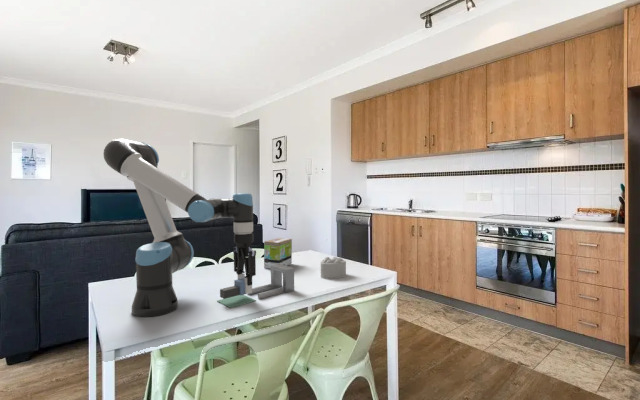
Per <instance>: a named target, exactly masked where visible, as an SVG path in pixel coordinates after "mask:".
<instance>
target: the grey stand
mask: <svg viewBox="0 0 640 400" xmlns="http://www.w3.org/2000/svg"><path fill="white" fill-rule="evenodd" d="M293 291H295V268H294V267H292V266H291V267H290V266H288V265H287V266H284V265H280V264H278V265H273V266H271V269H270V283H269V284H264V285H261V286H256V287H252V293H249V294H247V295H248V296H250V295H253V294H257V299H258V300H261V299H264V298H265V299H266V298H269V297H273V296H275V295H276V296H277V295H281V294H283V293H289V292H290V293H291V292H293Z"/></svg>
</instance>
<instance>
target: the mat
mask: <svg viewBox="0 0 640 400" xmlns="http://www.w3.org/2000/svg"><path fill="white" fill-rule="evenodd" d="M254 302H257V300H256V299H254V298H252V297H250V296H247V295H246V294H244V295H237V296H234V297H230V298H226V299H223V298H221V299H218V300H217V303H220V304H222V305H224V306H226V307H228V308H230V309H232V308H236V307H238V306H239V307H240V306H243V305H246V304H250V303H254Z"/></svg>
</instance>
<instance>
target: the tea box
mask: <svg viewBox="0 0 640 400" xmlns="http://www.w3.org/2000/svg"><path fill="white" fill-rule="evenodd" d="M292 241H293V239H292V238H285V237H275V238H272V239H268V240H264V241H263V242H264V244H263V247H264V248H263V268H264V269H268V270H269V269H270V270H271V266H273V265H278V264H280V265H284V266H287V267H288V266H290V265H292V263H293V260H292V259H293V256H292V255H293V254H292V253H293V249H292V247H293V242H292Z"/></svg>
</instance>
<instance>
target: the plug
mask: <svg viewBox="0 0 640 400" xmlns="http://www.w3.org/2000/svg"><path fill="white" fill-rule="evenodd" d="M237 295H246V294H245V278H242V279H238V278H237V279H234V282H233V285H232V286H228V287H223V288H219V297H220V298H221V299H226V298H230V297H234V296H237Z"/></svg>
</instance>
